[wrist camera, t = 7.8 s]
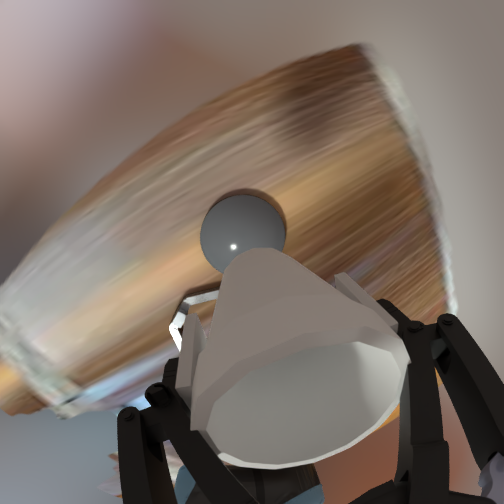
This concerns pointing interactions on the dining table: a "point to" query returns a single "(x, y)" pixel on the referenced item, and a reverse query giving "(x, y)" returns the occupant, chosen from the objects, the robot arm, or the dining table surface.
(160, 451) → the robot arm
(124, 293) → the dining table surface
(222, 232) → the coaster
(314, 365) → the foam cup
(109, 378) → the dining table surface
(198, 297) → the collar
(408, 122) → the dining table surface
